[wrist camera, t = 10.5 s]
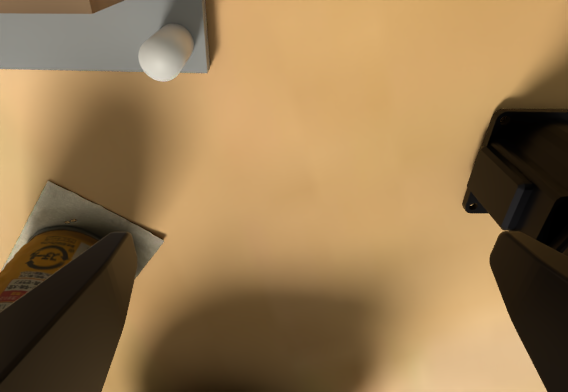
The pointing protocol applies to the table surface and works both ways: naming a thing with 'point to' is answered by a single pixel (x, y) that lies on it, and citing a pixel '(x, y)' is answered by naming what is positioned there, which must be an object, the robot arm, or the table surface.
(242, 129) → the table surface
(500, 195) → the robot arm
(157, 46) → the chassis
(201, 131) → the table surface
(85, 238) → the condiment
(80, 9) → the block
